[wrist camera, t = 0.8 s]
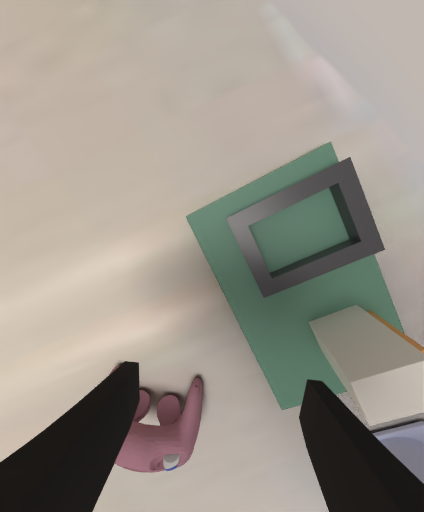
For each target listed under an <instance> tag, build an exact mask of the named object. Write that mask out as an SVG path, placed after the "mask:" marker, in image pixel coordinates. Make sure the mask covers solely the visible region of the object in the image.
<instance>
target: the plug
mask: <svg viewBox="0 0 424 512" xmlns="http://www.w3.org/2000/svg"><path fill="white" fill-rule="evenodd" d="M309 324H310V326H311V328H312V330H313V333H314V335H315V337H316V339H317V342H318V344H319V346H320V348H321V350H322V352H323V354H324V355H325V357H326V359H327V360H328V362H329V363H330V365H331V366H332V368H333V370H334V371H335V373H336V374H337V376H338V377H339V379H340V381H341V382H342V384H343V385H344V387H345V388H346V390H347V392H348V393H349V395H350V396H351V398H352V399H353V401H354V403H355V404H356V406H357V407H358V409H359V410H360V412H361V414H362V415H363V417H364V418H365V420H366V421H367V423H368V425H369V426H372V425H376V424H380V423H383V422H387V421H391V420H395V419H399V418H403V417H407V416H411V415H415V414H419V413H423V412H424V347H422V346H421V345H419V344H418V343H417V342H415V341H414V340H412V339H411V338H409V337H408V336H407V335H405V334H404V333H402V332H401V331H399V330H398V329H397V328H395V327H394V326H392V325H391V324H389V323H388V322H387V321H385V320H384V319H382V318H381V317H379V316H378V315H377V314H375V313H374V312H372V311H371V310H370V311H367V312H366V311H365V310H364V309H362V308H361V307H359V306H358V305H354V306H351V307H348V308H346V309H343V310H340V311H337V312H335V313H332V314H329V315H326V316H324V317H321V318H318V319H315V320H313V321H310V322H309Z"/></svg>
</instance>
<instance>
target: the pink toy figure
mask: <svg viewBox="0 0 424 512" xmlns="http://www.w3.org/2000/svg"><path fill="white" fill-rule="evenodd" d="M118 367H119V366H116V367H115V368H114V369H113V370H112V372H113V371H114V370H116V369H117V368H118ZM112 372H111V373H112ZM111 373H110V374H111ZM202 394H203V388H202V382H201V380H200V379H199V378H196V379H195V380H194V381H193V383H192V385H191V387H190V390H189V392H188V396H187V400H186V404H185V408H184V411H183V413H182V411H181V408H180V404H179V401H178V399H177V397H175V396H174V395H167V396H165V397H163V398H162V399H161V400H160V401H159V403H158V406H157V417H158V419H159V422H160V426H155V425H146V424H142V423H138V422H139V421H140V420H141V419H143V418H144V417H145V415H146V414H147V413H148V411H149V409H150V404H151V401H150V397H149V395H148V393H147V392H145V391H143V390H140V401H139V404H138V407H137V410H136V413H135V416H134V419H133V422H132V425H131V427H130V430H129V432H128V434H127V437H126V439H125V441H124V443H123V445H122V448H121V450H120V452H119V454H118V456H117V459H116V461H115V464H117V465H118V466H121V467H123V468H125V469H128V470H132V471H137V472H159V471H164V470H166V471H170V470H173V469H175V468H177V467H180V466H182V465H184V464H185V463H186V462H187V461H188V460H189V459H190V457H191V455H192V452H193V449H194V445H195V442H196V439H197V435H198V431H199V426H200V420H201V410H202Z"/></svg>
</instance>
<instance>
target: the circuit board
mask: <svg viewBox="0 0 424 512" xmlns="http://www.w3.org/2000/svg"><path fill="white" fill-rule="evenodd" d="M337 163H339V162H338V159H337V156H336V154H335V151H334V149H333V146H332V143H331V142H329V143H327V144H325V145H323V146H321V147H319V148H318V149H316V150H314V151H312V152H310V153H308V154H306V155H304V156H302V157H300V158H298V159H296V160H294V161H292V162H291V163H289V164H287V165H285V166H283V167H281V168H279V169H277V170H275V171H273V172H271V173H269V174H267V175H265V176H264V177H262V178H260V179H258V180H256V181H254V182H252V183H250V184H248V185H246V186H244V187H242V188H240V189H239V190H237V191H235V192H233V193H231V194H229V195H227V196H225V197H223V198H221V199H219V200H217V201H215V202H213V203H212V204H210V205H208V206H206V207H204V208H202V209H200V210H198V211H196V212H194V213H192V214H190V215H188V216H186V218H187V220H188V222H189V224H190V226H191V228H192V230H193V232H194V234H195V236H196V238H197V240H198V242H199V244H200V246H201V248H202V250H203V252H204V255H205V257H206V259H207V261H208V263H209V265H210V267H211V269H212V271H213V273H214V275H215V277H216V279H217V281H218V283H219V285H220V287H221V289H222V291H223V293H224V295H225V297H226V299H227V301H228V303H229V305H230V307H231V309H232V311H233V313H234V315H235V317H236V319H237V321H238V323H239V325H240V327H241V329H242V331H243V333H244V335H245V337H246V339H247V341H248V343H249V345H250V347H251V349H252V351H253V353H254V355H255V357H256V359H257V361H258V363H259V365H260V367H261V369H262V371H263V373H264V375H265V377H266V379H267V381H268V383H269V385H270V387H271V389H272V391H273V393H274V395H275V397H276V399H277V401H278V403H279V405H280V407H281V409H282V410H284V409H288V408H291V407H294V406H298V405H301V404H302V401H303V396H304V392H305V387H306V382H307V379H309V380H319V381H323V382H324V383H325V384H326V385H327V386H328V387H329V388H330V390H331V391H332V392H333V393H334V394H335V395H336V394H339V393H343V392H346V391H347V390H346V388H345V387H344V385H343V384H342V382H341V381H340V379H339V377H338V376H337V374H336V373H335V371H334V370H333V368H332V366H331V365H330V363H329V362H328V360H327V359H326V357H325V355H324V354H323V352H322V350H321V348H320V346H319V344H318V342H317V339H316V337H315V335H314V333H313V330H312V328H311V326H310V324H309V322H310V321H313V320H315V319H318V318H321V317H324V316H326V315H329V314H332V313H335V312H337V311H340V310H343V309H346V308H348V307H351V306H354V305H358V306H359V307H361V308H362V309H364V310H365V311H366V312H367V311H370V310H371V311H372V312H374V313H375V314H377V315H378V316H379V317H381V318H382V319H384V320H385V321H387V322H388V323H389V324H391V325H392V326H394V327H395V328H397V329H398V330H399V331H401V332H402V333H404V331H403V328H402V326H401V323H400V320H399V318H398V315H397V313H396V310H395V307H394V305H393V302H392V299H391V297H390V294H389V292H388V289H387V286H386V284H385V281H384V279H383V276H382V273H381V271H380V268H379V266H378V263H377V260H376V258H375V255H374V254H373V255H370V256H368V257H365V258H363V259H360V260H358V261H355V262H353V263H350V264H348V265H345V266H343V267H340V268H338V269H335V270H333V271H330V272H328V273H325V274H323V275H320V276H318V277H315V278H313V279H310V280H308V281H306V282H303V283H301V284H298V285H296V286H293V287H291V288H288V289H286V290H283V291H281V292H278V293H276V294H273V295H271V296H268V297H266V298H263V295H262V293H261V291H260V289H259V287H258V285H257V283H256V281H255V279H254V276H253V274H252V272H251V270H250V268H249V266H248V264H247V262H246V259H245V257H244V255H243V253H242V251H241V249H240V247H239V245H238V243H237V240H236V238H235V236H234V234H233V232H232V230H231V228H230V226H229V224H228V221H227V219H226V218H228V217H230V216H232V215H234V214H236V213H238V212H240V211H242V210H244V209H246V208H248V207H250V206H252V205H254V204H256V203H258V202H260V201H262V200H264V199H266V198H268V197H270V196H272V195H274V194H276V193H278V192H280V191H282V190H284V189H286V188H289V187H291V186H293V185H295V184H297V183H299V182H301V181H303V180H305V179H307V178H309V177H311V176H313V175H315V174H317V173H319V172H321V171H323V170H325V169H327V168H329V167H331V166H333V165H335V164H337ZM248 227H249V229H250V232H251V234H252V236H253V238H254V240H255V242H256V245H257V247H258V249H259V251H260V253H261V255H262V258H263V260H264V262H265V264H266V266H267V268H268V271H269V273H271V272H273V271H276V270H278V269H280V268H283V267H285V266H287V265H290V264H292V263H294V262H297V261H299V260H302V259H304V258H306V257H309V256H311V255H313V254H316V253H318V252H320V251H323V250H325V249H327V248H330V247H332V246H335V245H337V244H339V243H342V242H344V241H346V240H349V236H348V234H347V231H346V229H345V226H344V224H343V221H342V219H341V216H340V213H339V211H338V208H337V206H336V203H335V201H334V198H333V196H332V193H331V191H330V188H326V189H324V190H322V191H320V192H318V193H316V194H314V195H312V196H310V197H308V198H306V199H303V200H301V201H299V202H297V203H295V204H293V205H291V206H289V207H287V208H285V209H283V210H280V211H278V212H276V213H274V214H272V215H270V216H268V217H266V218H264V219H262V220H260V221H257V222H255V223H253V224H251V225H249V226H248ZM404 334H405V333H404Z"/></svg>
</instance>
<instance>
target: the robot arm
mask: <svg viewBox="0 0 424 512" xmlns="http://www.w3.org/2000/svg"><path fill="white" fill-rule="evenodd" d="M139 401H140V389H139V363H137V362H127V361H125V362H124V363H122V364H121V365H120V366H119V367H118V368H117V369H116V370H114V371H113V372H112V373H111V374H110V375H109V376H108V377H107V378H106V379H104V380H103V381H102V382H101V383H100V384H99V385H98V386H97V387H95V388H94V389H93V390H92V391H91V392H90V393H89V394H87V395H86V396H85V397H84V398H83V399H82V400H80V401H79V402H78V403H77V404H76V405H75V406H73V407H72V408H71V409H70V410H69V411H67V412H66V413H65V414H64V415H62V416H61V417H60V418H59V419H57V420H56V421H55V422H54V423H52V424H51V425H50V426H49V427H47V428H46V429H45V430H44V431H42V432H41V433H40V434H38V435H37V436H36V437H34V438H33V439H32V440H30V441H29V442H28V443H26V444H25V445H24V446H22V447H21V448H20V449H18V450H17V451H16V452H14V453H13V454H11V455H10V456H9V457H7V458H6V459H4V460H3V461H2V462H0V512H92V511H93V509H94V507H95V504H96V502H97V500H98V498H99V496H100V494H101V491H102V489H103V487H104V485H105V483H106V480H107V478H108V476H109V474H110V472H111V470H112V467H113V465H114V463H115V461H116V459H117V456H118V454H119V452H120V450H121V448H122V445H123V443H124V441H125V439H126V437H127V434H128V432H129V430H130V427H131V425H132V422H133V419H134V416H135V413H136V410H137V407H138V404H139ZM299 419H300V423H301V427H302V432H303V436H304V439H305V443H306V447H307V450H308V453H309V456H310V459H311V462H312V465H313V468H314V470H315V473H316V476H317V479H318V482H319V485H320V487H321V490H322V493H323V496H324V499H325V501H326V504H327V507H328V510H329V512H424V421H420V422H416V423H412V424H408V425H404V426H400V427H396V428H392V429H388V430H384V431H380V432H375V433H371V432H370V431H369V430H368V429H367V428H366V427H365V425H364V424H363V423H362V422H361V421H360V420H359V419H358V418H357V417H356V416H355V415H354V414H353V413H352V412H351V411H350V410H349V409H348V408H347V407H346V406H345V404H344V403H343V402H342V401H341V400H340V399H339V398H338V397H337V396H336V395H335V394H334V393H333V392H332V391H331V390H330V388H329V387H328V386H327V385H326V384H325V383H324V382H323V381H319V380H309V379H307V382H306V387H305V392H304V396H303V401H302V406H301V411H300V415H299Z"/></svg>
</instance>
